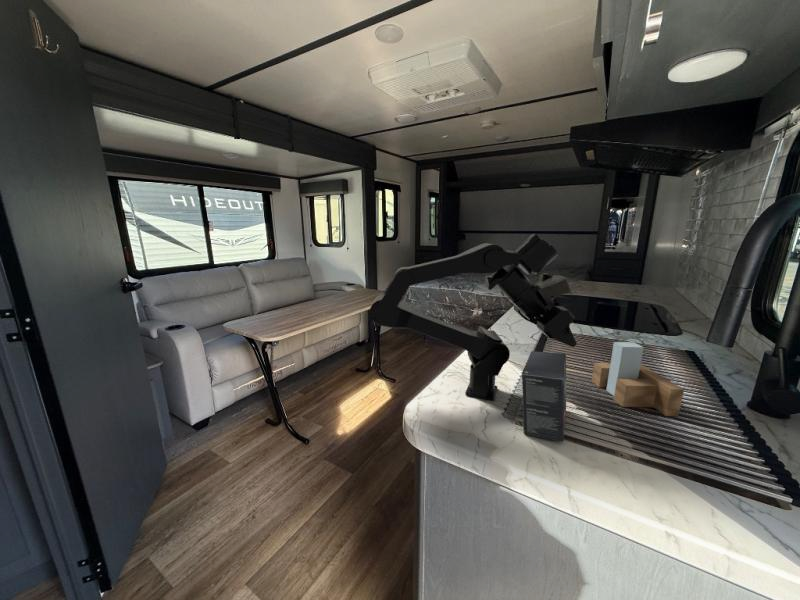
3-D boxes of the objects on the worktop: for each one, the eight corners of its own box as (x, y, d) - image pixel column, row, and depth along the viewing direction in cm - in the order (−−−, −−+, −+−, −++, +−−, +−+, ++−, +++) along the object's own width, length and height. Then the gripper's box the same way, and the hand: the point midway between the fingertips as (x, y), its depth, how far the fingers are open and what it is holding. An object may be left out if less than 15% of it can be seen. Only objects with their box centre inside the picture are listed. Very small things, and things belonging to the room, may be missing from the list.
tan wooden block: (633, 415, 64) (638, 388, 62) (584, 375, 81) (587, 353, 80) (678, 416, 63) (684, 389, 62) (619, 375, 81) (623, 354, 80)
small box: (565, 443, 54) (563, 378, 52) (523, 435, 58) (520, 374, 56) (567, 406, 65) (566, 352, 63) (532, 401, 69) (530, 350, 67)
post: (614, 396, 71) (622, 346, 68) (606, 389, 74) (613, 342, 71) (634, 396, 71) (643, 347, 68) (625, 390, 74) (634, 342, 71)
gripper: (570, 268, 57) (621, 326, 59) (530, 259, 75) (571, 303, 77) (523, 309, 59) (574, 364, 61) (495, 290, 77) (536, 333, 79)
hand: (564, 338), depth 70 cm, fingers open, 9 cm apart
